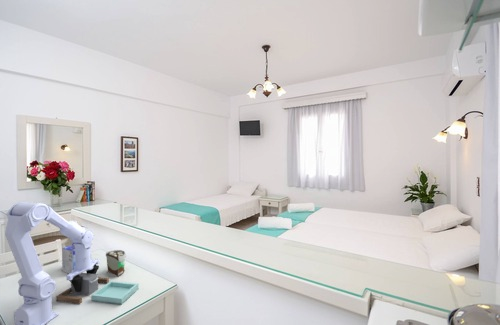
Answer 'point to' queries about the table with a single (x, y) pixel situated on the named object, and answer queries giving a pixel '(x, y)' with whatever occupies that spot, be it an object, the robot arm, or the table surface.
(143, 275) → the table surface
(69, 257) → the ink cartridge box
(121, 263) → the food container
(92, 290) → the gray box with handle
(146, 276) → the table surface
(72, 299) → the frame
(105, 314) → the table surface
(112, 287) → the tray
